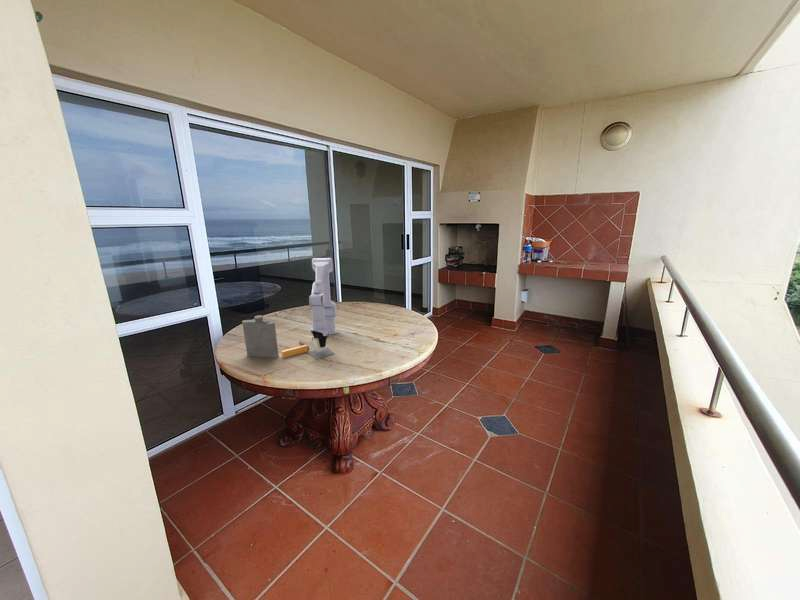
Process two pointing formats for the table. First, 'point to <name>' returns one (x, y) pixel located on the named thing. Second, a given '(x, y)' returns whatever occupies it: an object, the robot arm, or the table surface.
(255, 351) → the hip flask
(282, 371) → the table surface
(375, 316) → the table surface
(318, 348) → the white block
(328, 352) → the slate mat
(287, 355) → the orange bar
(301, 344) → the walnut channel
